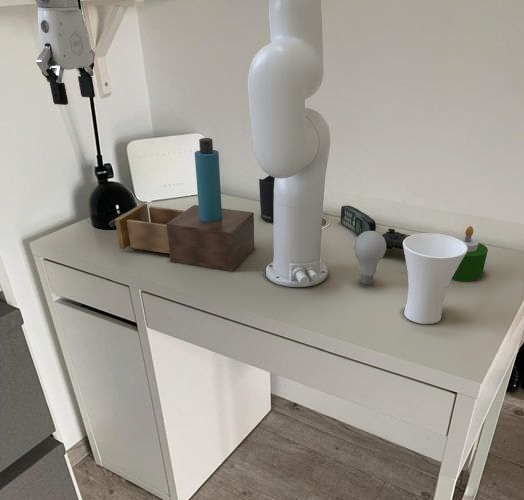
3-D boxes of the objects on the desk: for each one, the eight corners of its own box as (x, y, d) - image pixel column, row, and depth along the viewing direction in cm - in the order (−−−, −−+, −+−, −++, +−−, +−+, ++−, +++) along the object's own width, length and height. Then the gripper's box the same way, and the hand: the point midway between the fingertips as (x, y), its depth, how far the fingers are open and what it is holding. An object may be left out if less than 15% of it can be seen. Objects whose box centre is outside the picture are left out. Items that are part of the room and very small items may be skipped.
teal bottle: (223, 220, 115) (219, 141, 106) (201, 222, 114) (195, 142, 105) (219, 213, 119) (215, 135, 110) (197, 215, 118) (191, 137, 109)
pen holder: (256, 212, 144) (256, 174, 138) (291, 210, 145) (292, 172, 139) (263, 225, 136) (262, 185, 130) (299, 222, 137) (301, 183, 132)
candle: (454, 283, 108) (463, 236, 103) (432, 266, 115) (440, 221, 110) (490, 278, 110) (502, 231, 105) (467, 261, 117) (476, 216, 111)
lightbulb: (364, 274, 112) (369, 223, 106) (387, 285, 108) (394, 232, 102) (344, 283, 109) (348, 231, 103) (367, 294, 105) (373, 240, 99)
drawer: (104, 246, 124) (99, 217, 120) (132, 228, 133) (128, 201, 129) (172, 257, 118) (169, 227, 115) (196, 238, 127) (194, 209, 123)
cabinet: (170, 261, 119) (166, 223, 114) (196, 240, 128) (193, 204, 124) (232, 271, 114) (230, 232, 109) (254, 249, 124) (253, 212, 119)
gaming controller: (360, 239, 116) (381, 217, 122) (360, 263, 120) (381, 240, 126) (423, 254, 109) (443, 230, 115) (421, 279, 113) (440, 255, 119)
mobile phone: (339, 204, 134) (372, 223, 122) (349, 203, 135) (383, 221, 123) (337, 224, 137) (370, 244, 125) (348, 222, 138) (381, 242, 126)
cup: (393, 327, 95) (403, 255, 87) (392, 299, 103) (401, 231, 96) (455, 333, 93) (472, 259, 86) (449, 303, 102) (464, 234, 94)
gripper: (42, 2, 96) (63, 109, 106) (100, 0, 110) (114, 95, 119) (8, 2, 98) (31, 106, 108) (69, 0, 112) (85, 93, 121)
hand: (75, 100), depth 114 cm, fingers open, 8 cm apart
